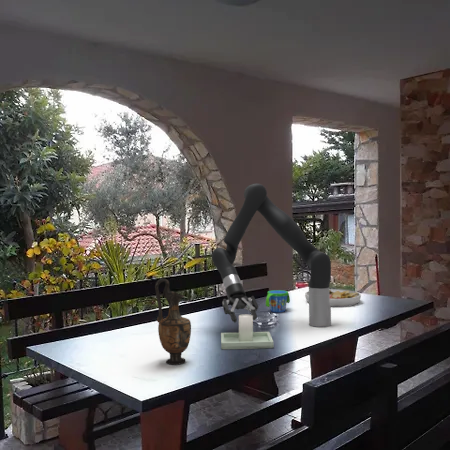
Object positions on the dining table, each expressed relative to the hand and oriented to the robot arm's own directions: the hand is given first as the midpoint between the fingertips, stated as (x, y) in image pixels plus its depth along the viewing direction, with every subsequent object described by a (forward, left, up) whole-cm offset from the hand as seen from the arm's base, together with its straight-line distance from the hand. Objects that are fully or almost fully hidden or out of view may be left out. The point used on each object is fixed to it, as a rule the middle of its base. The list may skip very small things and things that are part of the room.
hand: (245, 320), depth 201 cm
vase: (+27, +22, -9) cm, 36 cm away
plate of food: (-53, -76, -10) cm, 93 cm away
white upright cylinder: (0, +1, -8) cm, 8 cm away
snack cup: (-20, -56, -9) cm, 60 cm away
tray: (0, +1, -9) cm, 9 cm away
